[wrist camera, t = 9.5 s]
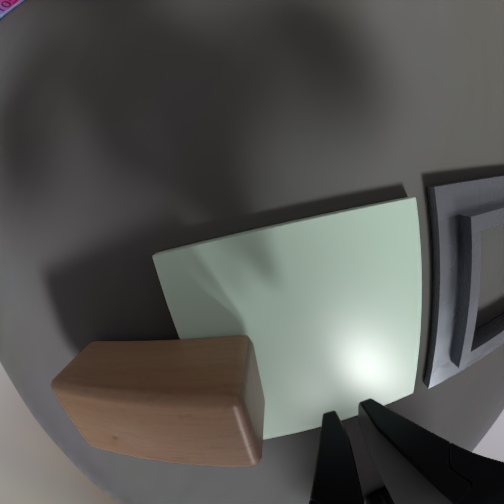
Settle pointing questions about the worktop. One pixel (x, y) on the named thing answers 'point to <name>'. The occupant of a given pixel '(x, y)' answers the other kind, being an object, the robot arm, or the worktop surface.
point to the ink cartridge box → (8, 6)
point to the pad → (310, 307)
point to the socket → (461, 274)
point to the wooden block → (168, 399)
